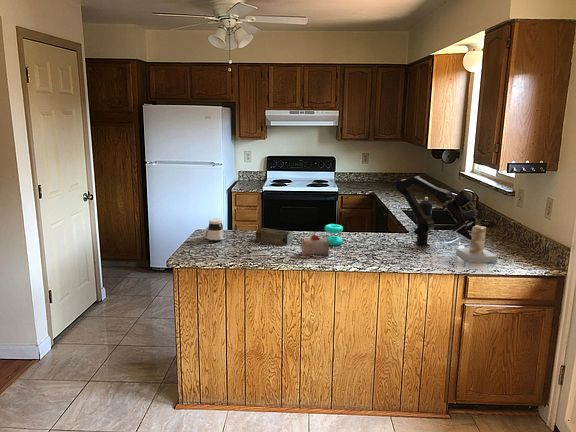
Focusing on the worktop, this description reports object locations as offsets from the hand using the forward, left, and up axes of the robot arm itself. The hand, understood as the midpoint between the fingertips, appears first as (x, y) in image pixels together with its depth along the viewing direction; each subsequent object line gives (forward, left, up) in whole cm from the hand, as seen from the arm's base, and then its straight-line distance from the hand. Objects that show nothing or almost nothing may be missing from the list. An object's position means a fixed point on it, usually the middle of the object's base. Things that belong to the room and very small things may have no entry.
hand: (475, 237), depth 230 cm
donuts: (-30, -65, -11) cm, 72 cm away
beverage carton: (-37, -97, -11) cm, 104 cm away
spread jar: (-43, -130, -11) cm, 137 cm away
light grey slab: (+1, +1, -10) cm, 10 cm away
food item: (-13, -79, -11) cm, 81 cm away
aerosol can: (-53, -2, -11) cm, 54 cm away
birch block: (+1, +1, -7) cm, 7 cm away
